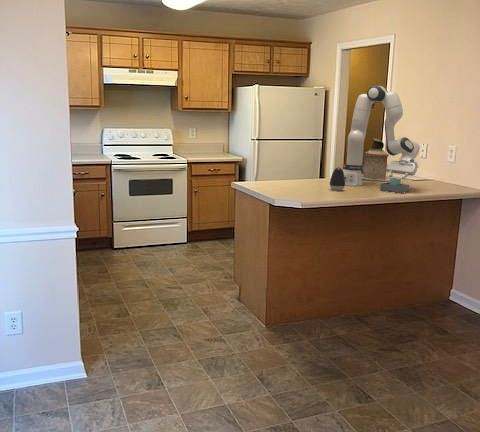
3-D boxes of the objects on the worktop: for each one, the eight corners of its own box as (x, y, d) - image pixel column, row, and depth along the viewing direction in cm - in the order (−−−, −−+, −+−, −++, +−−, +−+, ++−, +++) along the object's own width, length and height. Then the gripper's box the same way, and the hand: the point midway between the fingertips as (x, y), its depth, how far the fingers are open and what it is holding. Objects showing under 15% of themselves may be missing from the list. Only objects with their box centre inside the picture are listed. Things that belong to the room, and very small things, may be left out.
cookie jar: (391, 182, 396) (395, 139, 390) (358, 180, 401) (362, 138, 394) (388, 178, 420) (392, 138, 414) (357, 176, 425) (361, 136, 418)
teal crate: (395, 191, 346) (396, 179, 345) (388, 190, 350) (390, 178, 348) (399, 190, 350) (400, 178, 348) (392, 189, 353) (394, 178, 352)
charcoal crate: (399, 193, 341) (400, 186, 340) (380, 190, 351) (380, 183, 350) (408, 192, 349) (409, 185, 348) (388, 189, 359) (389, 182, 358)
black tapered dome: (332, 191, 339) (334, 168, 336) (326, 188, 349) (328, 166, 346) (347, 191, 341) (349, 168, 338) (341, 189, 351) (343, 166, 348)
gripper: (390, 157, 359) (381, 172, 354) (418, 160, 345) (409, 176, 340) (392, 163, 363) (384, 178, 359) (420, 167, 349) (411, 182, 345)
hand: (396, 177), depth 349 cm, fingers open, 8 cm apart
